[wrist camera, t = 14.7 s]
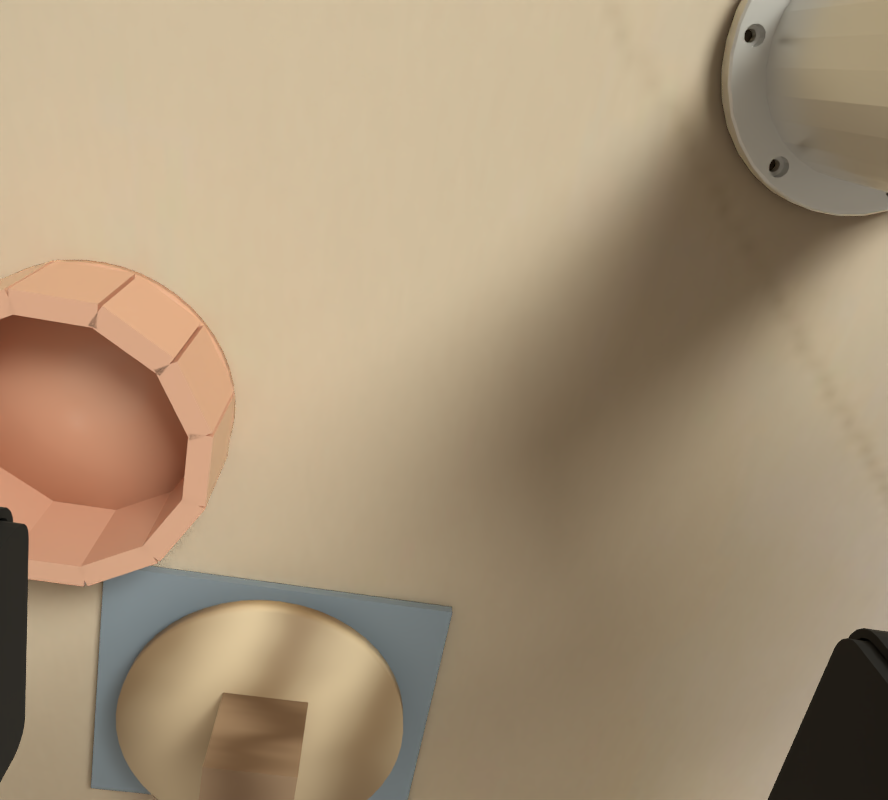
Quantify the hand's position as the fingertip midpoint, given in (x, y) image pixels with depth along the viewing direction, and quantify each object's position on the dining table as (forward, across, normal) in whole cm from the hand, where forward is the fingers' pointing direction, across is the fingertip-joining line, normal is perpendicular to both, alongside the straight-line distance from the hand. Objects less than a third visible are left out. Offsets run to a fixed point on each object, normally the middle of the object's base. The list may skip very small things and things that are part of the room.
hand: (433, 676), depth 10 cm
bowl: (+31, +13, +11) cm, 35 cm away
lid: (+29, +3, +28) cm, 40 cm away
